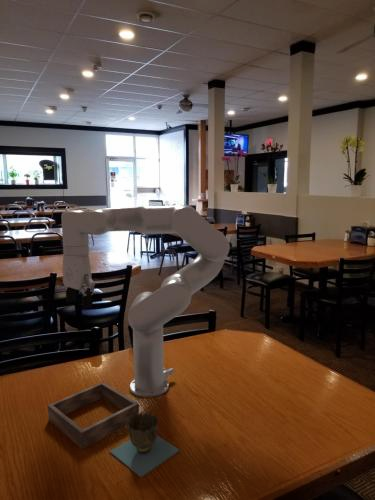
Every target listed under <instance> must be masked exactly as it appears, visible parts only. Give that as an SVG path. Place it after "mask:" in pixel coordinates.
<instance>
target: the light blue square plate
mask: <svg viewBox="0 0 375 500" xmlns="http://www.w3.org/2000/svg"><path fill="white" fill-rule="evenodd" d="M179 452H180V449H179V448H177V447H176V446H174V445H172V444H171V443H169V442H168V441H166V440H165V439H164V438H163V437H161V436H159V435H157V436H156V440H155V442H154V444H153V445H152V446H151V449H150V451H149V452H148V453H145V454H141V453H139V452H138V451H137V449H136V447H135V446H134V445H133V444H132V442H131V440H130V439H129V440H127V441H124V442H123V443H121V444H120V445H118V446H116V447H115V448H113V449H112V450H110V451H109V453H110V454H111V455H112V456H114V457H115V458H116V459H117V460H118V461H120V462H121V463H122V464H124V466H126V467H127V468H129V470H131V471H132V472H134V473H135V474H136V475H137V476H139V477H140V478H143V477H144V476H145V475H147V474H148V473H149V472H151V471H153V470H155V468H158V466H160V465H161V464H163V463H164V462H166V461H167V460H168V459H170V458H172V457H173V456H174V455H176V454H177V453H179Z"/></svg>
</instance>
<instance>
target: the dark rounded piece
mask: <svg viewBox="0 0 375 500" xmlns="http://www.w3.org/2000/svg"><path fill="white" fill-rule="evenodd" d="M127 424H128V425H127V429H128V434H129V435H128V436H129V440H131V442H132V444H133V445H134V446H135V447H136V449H137V451H138V452H139V453H141V454H145V453H148V452H149V451H150V449H151V446H152V445H153V444H154V442H155V440H156V436H158V426H159V417H158V415H155V413H153V414H152V413H151V412H150V411H149V412H147V411H145V412H144V414H143V412H142V411H141V412H139V415H138V414H136V413H135V414H134V415H133V416H130V421H129V422H128V421H127Z"/></svg>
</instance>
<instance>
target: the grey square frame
mask: <svg viewBox="0 0 375 500" xmlns="http://www.w3.org/2000/svg"><path fill="white" fill-rule="evenodd" d="M101 399H104V400H105V401H106V402H109V403H110V404H111V405H113V406H114V407H115V408H118V409H119V411H117V412H115V413H112V414H110V415H108V416H107V417H105V418H102V419H101V420H99V421H97V422H95V423H93V424H90V425H89V426H87V427H85V428H82V427H81V426H80V425H78V424H77V423H76V422H74V421H73V420H72V419H71V418H70V417H68V416H66V415H68V414H70V413H72V412H74V411H77V410H79V409H82V408H84V407H86V406H87V405H90V404H92V403H94V402H96V401H98V400H101ZM135 413H136V414H138V415H140V403H138V402H137V401H135V400H134V399H133V398H130V397H129V396H127V395H125V394H124V393H122V392H121V391H118V390H117V389H115V388H114V387H112V386H110V385H109V384H107V383H105V382H103V381H102V382H99V383H96V384H95V385H92V386H90V387H87V388H85V389H83V390H80V391H79V392H78V391H77V392H76V393H73V394H71V395H68V396H66V397H64V398H61V399H60V400H57V401H55V402H52V403H50V404H48V405H47V414H48V415H47V416H48V421H49V422H50V423H51V424H53V426H55V427H56V428H57V429H58V430H60V431H61V433H63V434H64V435H65V436H66V437H68V438H69V440H71V441H72V442H73V443H74V444H76V445H77V446H78V447H79V448H80V449H81V450H85V449H86V448H87V447H89V446H91V445H93V444H96V443H97V442H98V441H100V440H103V439H104V438H105V437H108V436H110V435H111V434H114V433H115V432H117V431H119V430H121V429H122V428H124V427H127V426H128V424H127V421H128V422H129V421H130V416H133V415H134V414H135Z"/></svg>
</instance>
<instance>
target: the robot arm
mask: <svg viewBox="0 0 375 500" xmlns="http://www.w3.org/2000/svg"><path fill="white" fill-rule="evenodd" d="M60 221H61V232H62V234H61V235H62V246H63V247H62V249H63V250H62V251H63V259H62V284H63V285H64V290H65V301H66V303H68V304H69V303H73V302H74V303H75V302H76V301H77V291H78V290H80V291H81V294H82V296H81V301H82V302H81V303H82V305H81V306H82V309H83V310H87V309H90V308H93V306H94V305H93V295H94V291H95V286H96V283H95V281H94V280H93V279H92V268H91V261H90V246H89V235H93V236H102V235H104V234H106V233H109V232H135V233H140V234H143V235H165V234H166V235H167V234H177V235H178V236H179V238H181V239H182V240H183V241H185V243H186V244H188V245H189V246H190V247H191V248H193V250H194V251H196V252H197V253H198V254H197V256H196V257H195V258H193V260H192V261H190V262H189V263H188V264H186V265H185V266H184V267H182V268H181V269H179V270H177V271H175V272H174V273H173V274H170V275H169V276H167V277H166V278H165V279H164V280H163V281H162V282H161V285H160V288H158V289H156V290H155V291H154V292H152V291H144V292H141V293H139V294H137V296H136V297H134V299H133V301H132V304H131V306H130V309H129V311H128V315H127V317H128V323H129V325H130V327H131V329H132V348H133V351H132V352H133V375H134V376H133V378H134V379H133V380H132V381H131V382H130V384H129V391H130V392H131V393H132V394H133V395H135V396H137V397H142V398H153V397H157V396H158V397H159V396H160V395H163V394H164V393H166V392H167V391H168V390H169V388H170V383H169V380H168V377H169V376H171V375H174V374H175V369H174V368H173V367H172V368H171V367H170V368H169V369H167V367H164V365H165V364H164V325H165V324H167V323H168V322H170V321H171V320H173V319H174V318H175V317H177V316H179V315H181V314H182V313H183V312H184V311H185V310H186V309H187V308H188V307H189V305H190V303H191V300H192V296H193V295H195V293H196V292H198V291H200V290H201V289H202V288H203V287H205V286H207V285H208V284H209V283H210V282H211V281H213V280H214V279H215V278H217V276H218V274H219V273H220V272H221V270H222V269H223V266H224V264H225V260H226V257H227V256H228V255H229V252H230V248H231V246H230V241H229V240H228V238H227V236H225V235H224V233H223V232H222V231H220V230H218V229H217V228H215V227H214V226H213V225H212V224H211V223H210V222H208V220H207V219H205V218H204V217H203V216H202V215H201V214H200V213H199V212H198V211H197V210H196V209H195V208H194V207H193V206H191V205H187V204H182V205H181V204H180V205H179V204H178V205H174V204H173V205H150V206H149V205H146V206H144V205H143V206H138V207H118V208H117V207H113V208H112V207H111V208H108V207H107V208H105V207H104V208H100V209H99V208H98V209H94V210H89V211H84V210H79V209H77V210H76V209H75V210H64V211H63V212H62V213H61V220H60Z"/></svg>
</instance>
